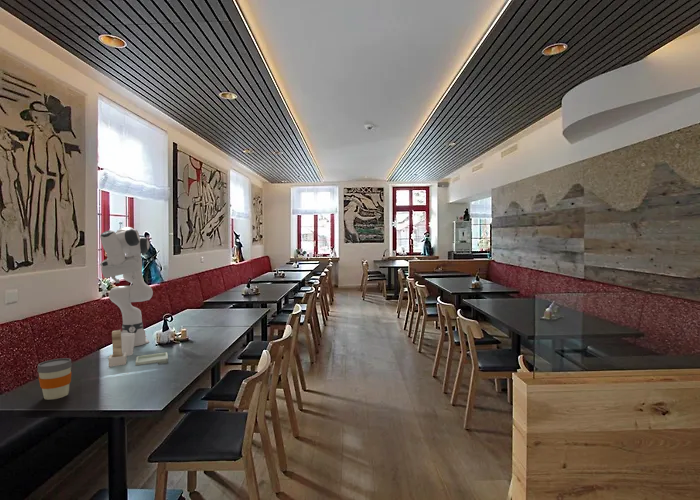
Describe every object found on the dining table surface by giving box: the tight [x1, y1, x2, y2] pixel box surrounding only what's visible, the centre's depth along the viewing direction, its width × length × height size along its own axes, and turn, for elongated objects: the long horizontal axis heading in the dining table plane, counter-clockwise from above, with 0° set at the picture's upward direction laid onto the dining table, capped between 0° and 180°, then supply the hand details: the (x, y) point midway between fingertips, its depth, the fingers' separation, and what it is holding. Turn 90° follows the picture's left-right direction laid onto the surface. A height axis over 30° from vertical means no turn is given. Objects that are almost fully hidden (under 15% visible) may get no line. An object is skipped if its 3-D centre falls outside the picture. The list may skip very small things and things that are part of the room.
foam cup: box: [121, 333, 135, 357], centre depth 246 cm, size 10×9×13 cm
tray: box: [135, 351, 169, 366], centre depth 234 cm, size 14×16×2 cm
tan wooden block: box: [111, 329, 122, 357], centre depth 229 cm, size 4×4×18 cm
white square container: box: [107, 353, 128, 367], centre depth 229 cm, size 8×8×6 cm
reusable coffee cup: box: [36, 357, 73, 400], centre depth 185 cm, size 13×13×15 cm
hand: (126, 280), depth 242 cm, fingers open, 8 cm apart
